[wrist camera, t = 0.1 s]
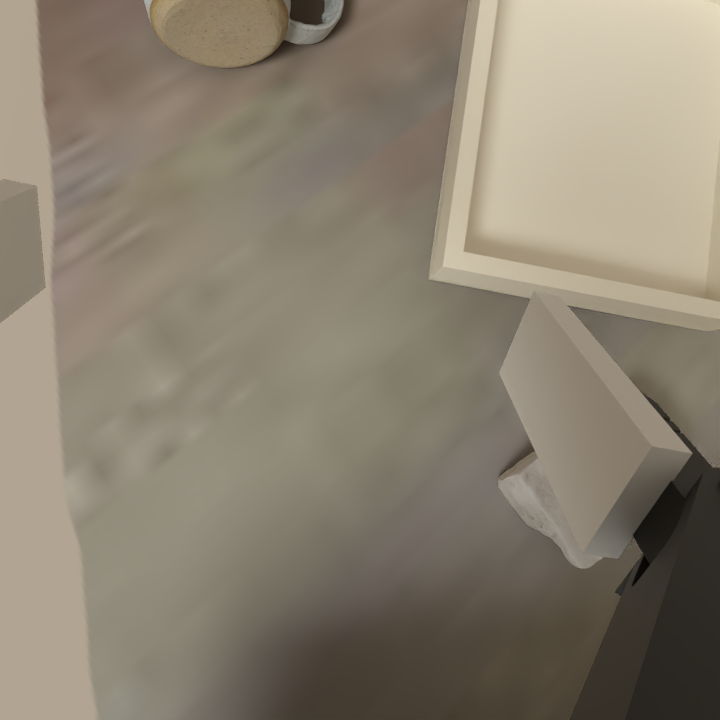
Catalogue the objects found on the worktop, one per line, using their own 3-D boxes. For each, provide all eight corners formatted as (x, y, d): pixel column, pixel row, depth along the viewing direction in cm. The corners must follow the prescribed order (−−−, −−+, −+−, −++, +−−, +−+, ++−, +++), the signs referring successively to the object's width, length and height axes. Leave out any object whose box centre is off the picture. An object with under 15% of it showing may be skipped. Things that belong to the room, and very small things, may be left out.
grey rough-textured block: (586, 412, 35) (648, 375, 30) (650, 495, 33) (728, 470, 28) (479, 485, 31) (532, 456, 26) (547, 585, 29) (618, 574, 24)
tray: (706, 331, 33) (748, 324, 30) (427, 279, 31) (442, 266, 28) (736, 6, 35) (778, -31, 32) (477, -64, 33) (496, -110, 30)
